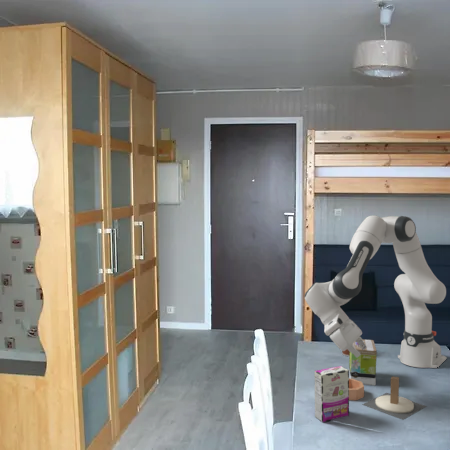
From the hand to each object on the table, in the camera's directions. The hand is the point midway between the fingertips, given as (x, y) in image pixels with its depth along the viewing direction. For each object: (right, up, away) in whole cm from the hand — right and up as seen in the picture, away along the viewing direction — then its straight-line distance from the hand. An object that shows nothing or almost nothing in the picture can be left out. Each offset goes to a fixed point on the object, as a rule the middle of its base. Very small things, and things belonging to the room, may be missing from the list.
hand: (362, 352), depth 187 cm
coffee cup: (+8, -14, +53) cm, 56 cm away
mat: (+10, -18, -4) cm, 22 cm away
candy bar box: (-14, -19, -11) cm, 26 cm away
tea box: (+6, -17, +22) cm, 29 cm away
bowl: (-4, -18, +6) cm, 19 cm away
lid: (+10, -18, -4) cm, 21 cm away
